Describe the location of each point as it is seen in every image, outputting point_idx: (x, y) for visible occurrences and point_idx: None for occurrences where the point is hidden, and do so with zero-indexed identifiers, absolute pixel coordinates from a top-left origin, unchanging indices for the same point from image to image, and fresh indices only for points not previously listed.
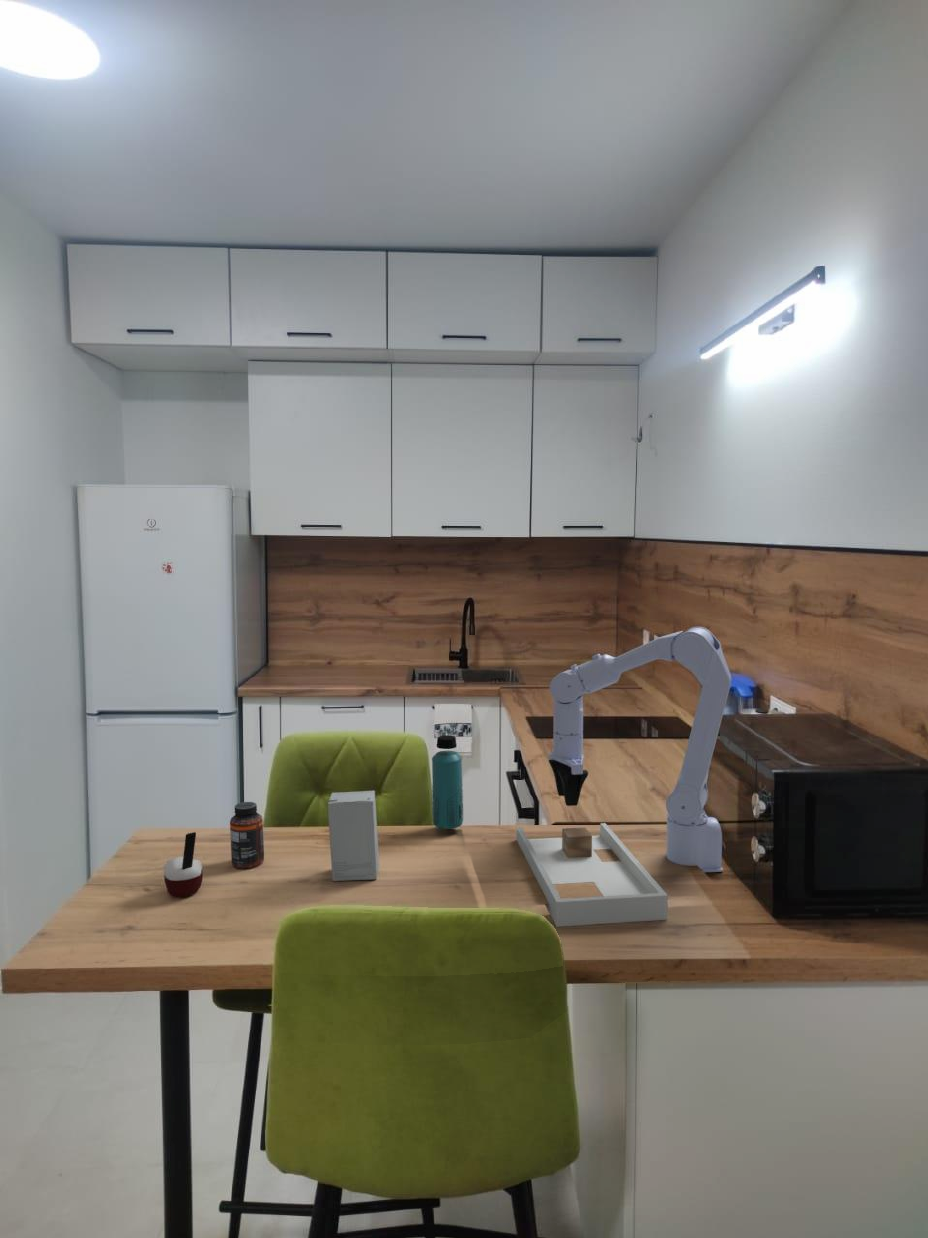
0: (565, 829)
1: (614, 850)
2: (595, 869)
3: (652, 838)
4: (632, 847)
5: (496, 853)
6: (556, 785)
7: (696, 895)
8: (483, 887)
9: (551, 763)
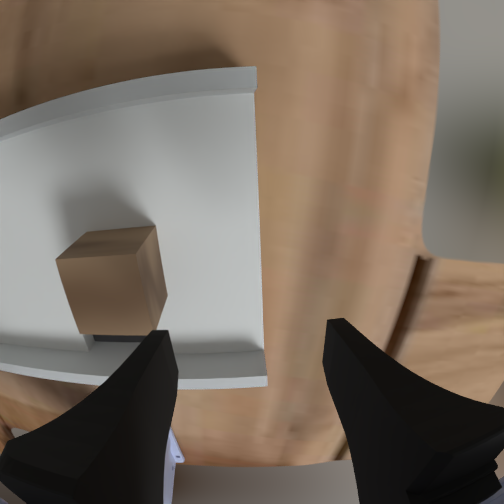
0: (125, 264)
1: None
2: (32, 286)
3: (275, 423)
4: (227, 389)
5: (205, 14)
6: (366, 343)
7: (33, 398)
8: (6, 16)
9: (435, 457)
